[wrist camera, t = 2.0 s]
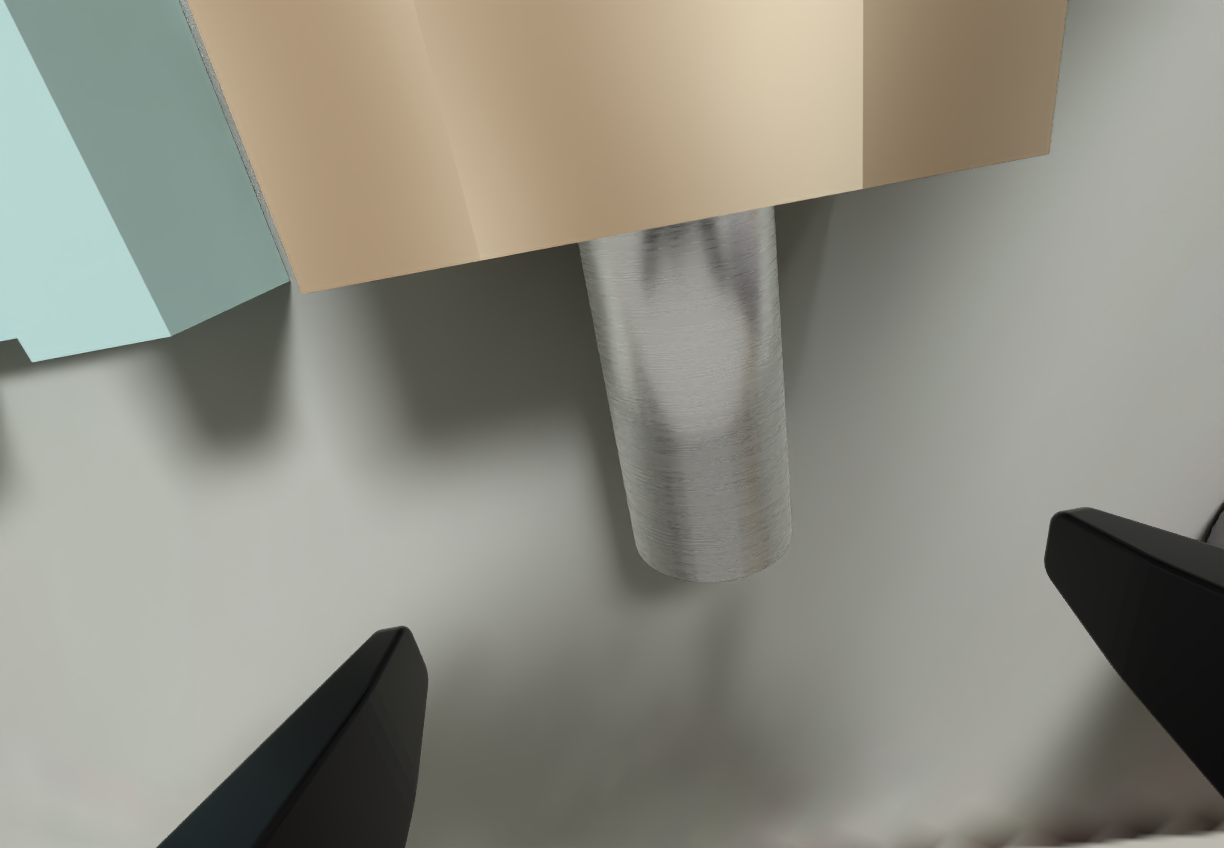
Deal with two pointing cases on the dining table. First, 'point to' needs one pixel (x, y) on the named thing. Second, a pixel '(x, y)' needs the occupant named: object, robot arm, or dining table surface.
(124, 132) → the cradle
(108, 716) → the dining table surface
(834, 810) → the dining table surface
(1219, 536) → the pillar candle
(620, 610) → the dining table surface
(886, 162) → the open beige box
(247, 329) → the dining table surface
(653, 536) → the axle
